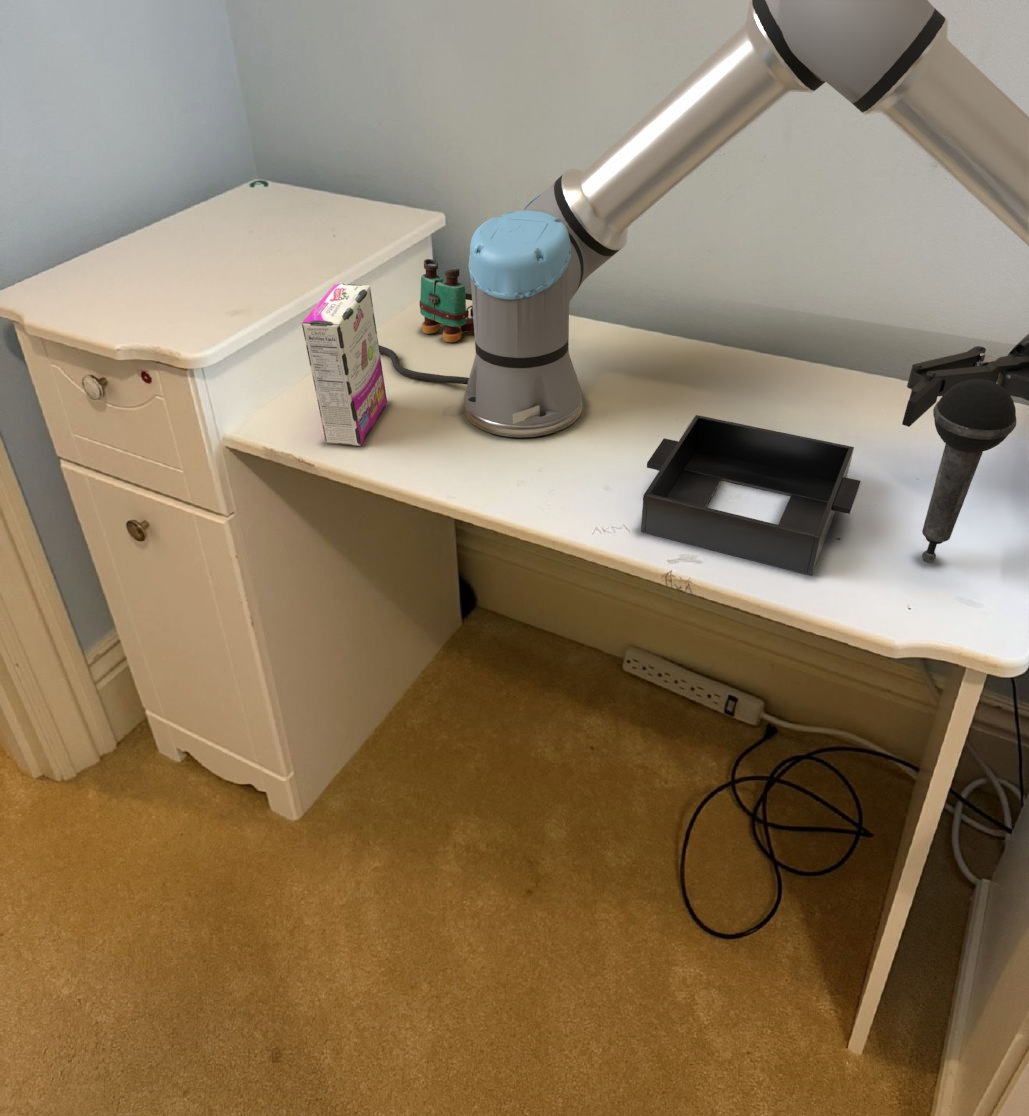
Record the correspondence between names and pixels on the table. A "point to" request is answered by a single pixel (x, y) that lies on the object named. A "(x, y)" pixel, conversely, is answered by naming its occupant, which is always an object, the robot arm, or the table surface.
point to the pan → (756, 462)
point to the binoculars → (444, 303)
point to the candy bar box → (345, 363)
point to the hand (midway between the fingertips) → (978, 436)
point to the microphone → (964, 449)
